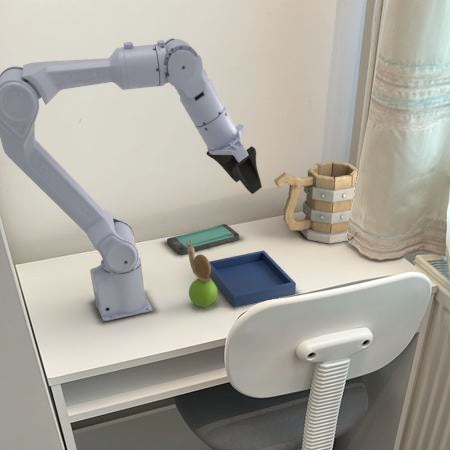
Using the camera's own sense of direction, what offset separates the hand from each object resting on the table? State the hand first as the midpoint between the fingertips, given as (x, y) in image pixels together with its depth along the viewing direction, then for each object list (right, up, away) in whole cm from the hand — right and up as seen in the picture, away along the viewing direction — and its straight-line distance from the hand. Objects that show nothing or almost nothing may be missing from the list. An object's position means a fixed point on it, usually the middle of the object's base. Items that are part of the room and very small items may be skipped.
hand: (248, 184), depth 112 cm
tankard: (+16, 0, +32) cm, 36 cm away
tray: (+1, -14, +16) cm, 21 cm away
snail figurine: (-8, -20, +10) cm, 24 cm away
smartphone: (-9, -3, +31) cm, 32 cm away
